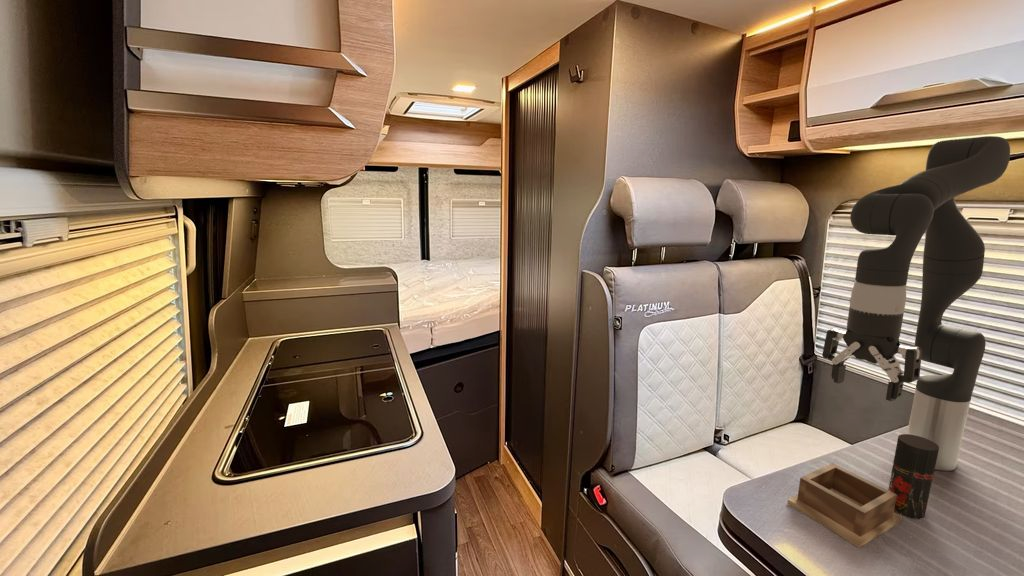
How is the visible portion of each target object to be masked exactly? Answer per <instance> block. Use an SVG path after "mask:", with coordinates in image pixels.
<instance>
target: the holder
mask: <svg viewBox="0 0 1024 576" xmlns="http://www.w3.org/2000/svg"><path fill="white" fill-rule="evenodd" d="M896 497H897V494H895V493H893V492H891V491H889V490H888V489H887V488H884V487H882V486H880V485H878V484H876V483H874V482H872V481H870V480H868V479H867V478H864V477H862V476H860V475H858V474H856V473H854V472H852V471H850V470H847V469H845V468H843V467H842V466H840V465H837V464H835V463H834V462H832V463H830V464H828V465H825V466H822V467H821V468H818V469H816V470H814V471H812V472H810V473H808V474H806V475H803V476H801V477H800V478H799V484H798V492H797V494H796V495H794V496H791V497H790V498H788V499H787V505H789V506H790V507H792V508H794V509H796V510H797V511H799V512H800V513H802V514H804V515H805V516H807V517H809V519H812V520H814V521H815V522H816V523H818V524H820V525H821V526H823V527H825V528H826V529H828V530H829V531H831V532H833V533H835V534H836V535H837V536H839V537H840V538H843V539H844V540H845V541H848V542H849V543H851V544H852V545H854V546H855V547H857V548H858V549H860V548H861V547H863V546H865V545H866V544H868V543H869V542H871V541H872V540H875V539H876V538H877V537H879V536H881V535H883V534H884V533H885V532H887V531H889V530H891V529H892V528H893V527H895V526H896V525H898V524H900V523H901V522H902V521H903V515H900V514H898V513H896V512H894V508H895V502H896Z"/></svg>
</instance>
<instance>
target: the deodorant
mask: <svg viewBox="0 0 1024 576" xmlns="http://www.w3.org/2000/svg"><path fill="white" fill-rule="evenodd" d="M896 442H897V443H896V447H895V452H894V457H893V463H892V466H891V467H892V468H891V472H890V473H891V474H890V479H889V484H888V489H887V490H889V491H891V492H893V493H895V494H897V497H896V502H895V508H894V511H895V512H894V513H896V512H897V513H896V514H898V513H899V514H898V515H900V514H901V515H900V516H902V517H905V516H906V517H905V518H908V517H909V519H913V520H921V519H920V518H923V519H924V518H925V517H926V513H927V509H928V503H929V499H930V493H931V490H932V489H931V488H932V484H933V479H934V474H935V470H936V469H935V465H936V461H937V456H938V451H939V446H938V445H937V444H936V443H934V442H932V441H930V440H928V439H926V438H923V437H919V436H916V435H910V434H907V433H901V434H898V437H897V441H896Z"/></svg>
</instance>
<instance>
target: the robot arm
mask: <svg viewBox="0 0 1024 576" xmlns="http://www.w3.org/2000/svg"><path fill="white" fill-rule="evenodd" d="M1010 157H1011V147H1010V143H1009V142H1008V140H1007V139H1006V138H1005V137H1002V136H993V135H987V136H978V137H977V136H976V137H967V138H966V137H965V138H955V139H947V140H946V139H945V140H941V141H937V142H936V143H934V144H933V145H932V146H931V147H930V149H929V151H928V154H927V157H926V162H925V170H923V171H920V172H918V173H916V174H914V175H912V176H910V177H908V178H907V179H906V180H903V181H902V182H901V183H899V184H896V185H892V186H888V187H885V188H881V189H878V190H877V189H876V190H875V191H872V192H869V193H867V194H865V195H864V196H862V197H861V198H860V199H858V200H857V202H856V203H855V204H854V206H853V207H852V209H851V211H850V216H849V219H850V223H851V225H852V227H853V228H854V229H855V230H856V231H857V232H859V233H861V234H864V235H865V234H866V235H873V236H874V235H875V236H876V235H877V236H878V235H879V236H893V237H894V236H895V237H894V240H893V241H892V243H891V244H889V246H885V247H874V248H866V249H864V250H862V251H861V252H860V253H859V255H858V258H857V263H856V271H855V278H854V280H855V281H854V283H853V285H852V286H853V287H852V289H851V294H850V299H849V307H848V308H849V309H848V314H847V315H848V316H847V323H846V328H847V329H846V331H843V330H841V329H840V328H839V327H835V328H831V329H828V330H826V334H825V339H824V344H823V350H822V355H821V356H822V357H823V358H824V359H828V360H829V361H830V362H831V363H832V368H831V376H830V377H831V379H832V380H833V383H835V384H837V385H838V384H841V383H843V382H844V381H845V376H846V367H847V364H846V363H845V362H846V361H848V360H849V359H851V358H852V357H854V358H855V359H856V360H860V361H865V362H866V361H867V362H868V363H871V364H874V365H875V364H878V365H879V367H880V368H881V370H882V371H884V372H885V374H886V375H887V377H888V378H889V380H888V383H887V390H886V396H885V400H887V401H888V402H893V401H896V400H898V399H900V398H901V397H902V394H903V390H904V389H903V388H904V387H903V386H904V383H906V384H910V383H912V382H913V383H914V382H916V384H915V388H914V390H915V391H914V395H913V401H912V406H911V412H910V416H909V422H908V426H907V432H906V434H910V435H916V436H919V437H923V438H926V439H928V440H930V441H932V442H934V443H936V444H937V445H938V446H939V451H938V456H937V461H936V465H935V470H939V471H948V472H949V471H954V470H955V469H956V467H957V463H958V459H959V455H960V450H961V446H962V442H963V437H964V432H965V428H966V423H967V419H968V413H969V410H970V406H971V405H970V404H971V402H972V401H971V400H972V396H973V392H974V389H975V385H976V381H977V377H978V373H979V371H980V367H981V365H982V361H983V358H984V354H985V351H986V345H987V344H986V338H985V336H984V335H983V334H982V333H981V332H979V331H975V330H970V329H964V328H960V327H954V326H949V325H943V324H942V319H943V315H944V313H945V312H946V310H947V309H948V308H949V307H950V306H951V305H952V304H953V303H954V302H955V301H956V300H957V299H959V298H961V296H963V295H964V294H966V292H968V291H969V290H970V289H971V288H972V287H974V285H976V284H977V283H978V281H979V280H980V279H981V277H982V275H983V270H984V264H985V263H984V262H985V254H986V253H985V252H986V248H985V243H984V240H983V238H982V237H981V235H980V234H979V233H978V232H977V230H975V228H974V227H973V226H972V225H971V223H970V222H969V221H968V220H967V218H966V217H965V216H964V215H963V214H962V213H961V211H960V210H959V208H958V205H957V203H956V200H955V198H956V197H959V196H961V195H963V194H965V193H967V192H971V191H973V190H975V189H978V188H980V187H983V186H987V185H990V184H992V183H994V182H996V181H997V180H998V179H1000V178H1001V177H1002V176H1003V175H1004V173H1005V172H1006V171H1007V168H1008V165H1009V163H1010ZM924 235H925V237H924ZM923 237H924V248H923V253H922V255H923V256H922V257H923V258H922V283H921V301H920V309H919V314H918V320H917V328H916V333H915V337H914V346H913V347H910V346H906V345H905V346H903V345H901V343H900V337H901V331H902V328H903V327H902V326H903V318H904V316H905V315H904V314H905V307H906V301H907V284H908V276H909V271H910V266H911V262H912V259H913V257H914V254H915V251H916V250H917V248H918V245H919V244H920V242H921V240H922V238H923ZM842 339H843V341H844V344H846V346H847V347H846V348H845V349H843V350H842V351H840V352H839V353H837V352H838V346H839V342H840V341H842ZM898 353H900V354H901V358H902V359H903V360H904V367H903V368H904V369H902V368H901V367H900V366H901V365H900V363H899V361H898V359H897V358H896V356H895V355H896V354H898ZM922 361H924V362H927V363H931V364H934V365H938V366H943V367H946V368H951V369H953V372H952V373H950V374H927V375H922V376H920V375H921V365H922V364H921V363H922Z"/></svg>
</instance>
